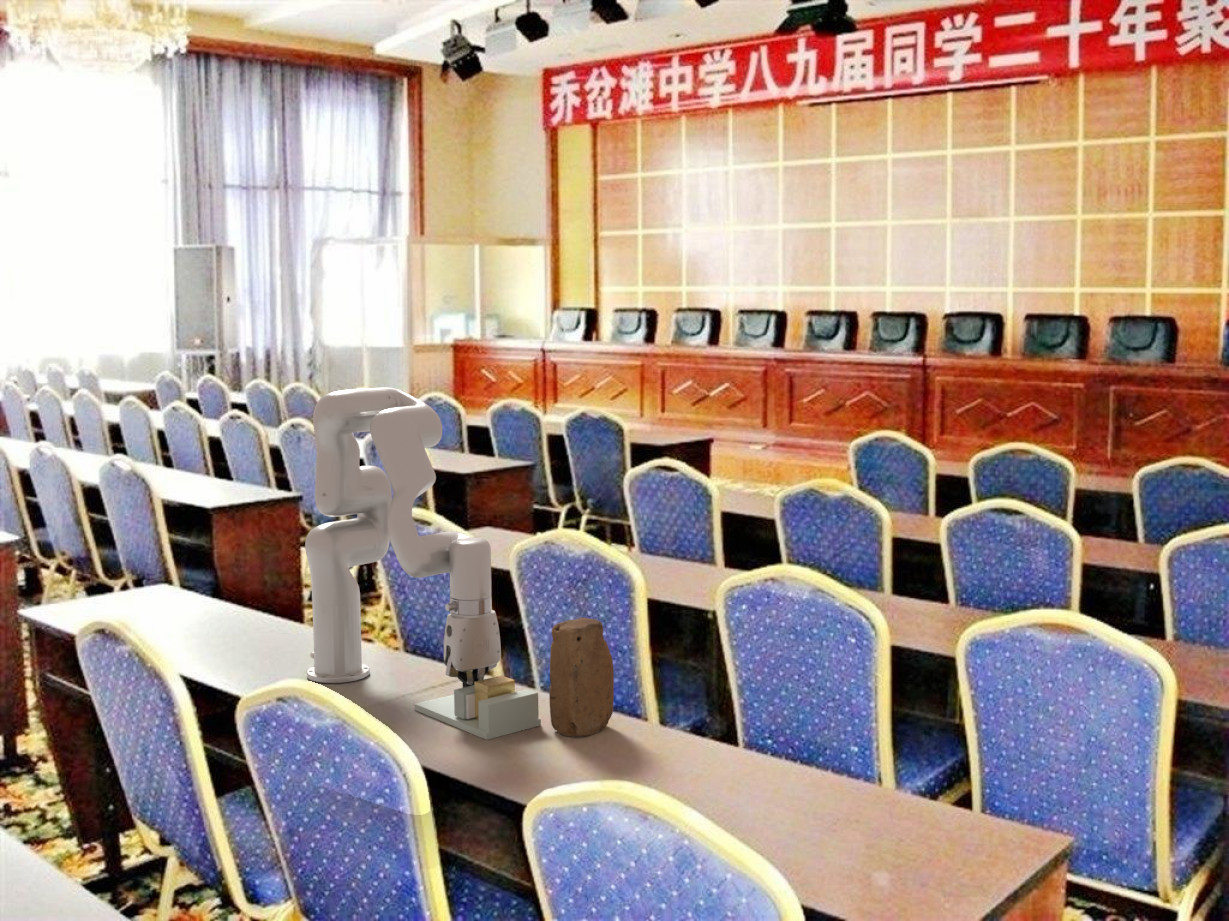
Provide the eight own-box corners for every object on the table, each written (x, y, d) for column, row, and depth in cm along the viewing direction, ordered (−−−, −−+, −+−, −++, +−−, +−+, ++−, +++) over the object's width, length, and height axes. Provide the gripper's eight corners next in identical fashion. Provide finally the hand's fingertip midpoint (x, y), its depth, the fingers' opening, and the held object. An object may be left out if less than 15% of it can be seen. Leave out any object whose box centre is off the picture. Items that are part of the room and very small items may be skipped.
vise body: (414, 709, 260) (413, 677, 259) (467, 697, 267) (466, 666, 267) (486, 739, 242) (486, 705, 242) (540, 725, 250) (540, 692, 249)
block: (570, 741, 241) (570, 629, 239) (545, 731, 247) (544, 621, 244) (619, 729, 248) (619, 619, 245) (593, 719, 254) (593, 612, 251)
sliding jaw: (454, 715, 251) (454, 689, 251) (499, 704, 258) (498, 679, 257) (465, 720, 249) (465, 694, 248) (510, 708, 255) (510, 683, 254)
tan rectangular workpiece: (475, 719, 250) (474, 681, 249) (502, 712, 254) (501, 675, 253) (488, 724, 247) (487, 686, 246) (515, 717, 251) (514, 680, 250)
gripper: (448, 616, 246) (449, 716, 248) (515, 603, 255) (516, 699, 258) (424, 608, 251) (426, 706, 254) (491, 596, 261) (492, 690, 263)
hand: (471, 702), depth 256 cm, fingers closed
